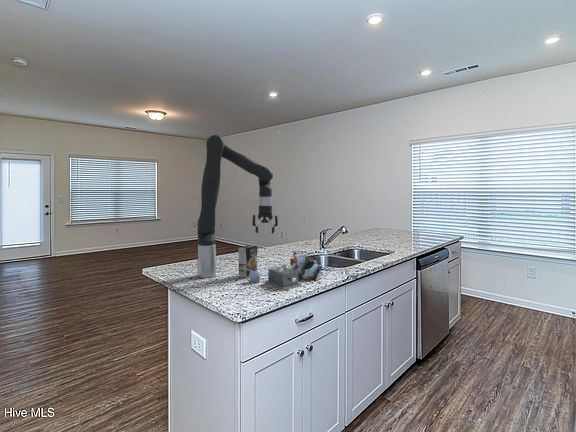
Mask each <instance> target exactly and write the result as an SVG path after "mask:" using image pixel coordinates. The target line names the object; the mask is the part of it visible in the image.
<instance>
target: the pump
mask: <svg viewBox="0 0 576 432" xmlns="http://www.w3.org/2000/svg"><path fill="white" fill-rule="evenodd" d="M260 281H261V271H260V269H259V268H258V267H257V268H252V269H251V270H250V277H249V282H250V283H251V284H257V283H260Z"/></svg>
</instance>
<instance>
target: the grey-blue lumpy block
mask: <svg viewBox="0 0 576 432" xmlns="http://www.w3.org/2000/svg"><path fill="white" fill-rule="evenodd" d="M289 266H292V270H295V271H298V277H300V278H303V279H304V280H306V281H310V282H311V280H312V281H315V280H317V279H318V278H319V277H320V275H321V274H320V272H321V271H322V268H323V267H322V266H321V265H320V264H319V263H318V261H316V260H315V259H312V258H311V259H309V257H308V255H307V254H305V253H304V252H303V251H300V252H299V253H298V252H296V251H293V254H292V258H290V259H289Z"/></svg>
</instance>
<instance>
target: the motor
mask: <svg viewBox="0 0 576 432" xmlns="http://www.w3.org/2000/svg"><path fill="white" fill-rule="evenodd" d="M267 274H268V275H267V277H268V279H267V280H265V283H266V284H268V285H271V286H273V287H276V288H278V289H281V290H282V291H285V290H287V289H292V288H296V287H301V286H302V283H301V282H299V276H298V271H295V270H292V266H291V265H289V267H287V264H286V263H282V264H281V266H278V265H273V267H271V268H268V270H267Z"/></svg>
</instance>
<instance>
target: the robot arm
mask: <svg viewBox="0 0 576 432" xmlns="http://www.w3.org/2000/svg"><path fill="white" fill-rule="evenodd" d="M205 146H206V162H205V166H204V169H203V174H202V181H201V191H200V194H201V195H200V196H201V198H200V199H201V209H200V213H199V217H198V220H197V225H196V226H197V253H198V254H197V257H198V258H196V267H197V269H196V270H197V271H196V273H197V274H196V275H197V277H199V278H200V279H203V278H205V279H207V278H214V277H215V276H217V258H216V257H217V256H216V254H217V253H216V252H217V249H216V207H217V202H218V198H219V193H220V185H221V163H222V158H223V159H225V160H227V161H229V162H231V163H232V164H234V165H235V166H237V167H238V168H240V169H242V170H244V171H246V172H247V173H249V174H251V175H254V176H255V177H257V178H258V185H259V186H258V188H259V191H258V192H259V193H258V214H257V215H256V214H253V215H252V223H251V225H252V226H253V227H255V233H256V234H259V230H260V229H259V226H260V225H261V224H265V223H266V224H270V226H271V235H273V234H274V233H275V231H276V230H275V227H278V226H279V218H278V215H273V198H272V197H273V193H272V192H273V190H272V186H271V181H272V180H273V178H274V174H273V171H272V170H271V169H269V168H267V167H266V166H264V165H261V164H259V163H258V162H256V161H255V160H253V159H251V158H250V157H248V156H246V155H244V154H242V153H240V152H238V151H235V150H234V149H232V148H231V147H229V146H228V145H227V144H225V142H224V140H223V138H222V137H221V136H220V135H218V134H213V135H210V136H209V137H208V138H207V140H206V144H205ZM257 218H258V221H257V223H256V220H257ZM272 219H273V220H274V222H273V221H272ZM274 223H275V224H274Z"/></svg>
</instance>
